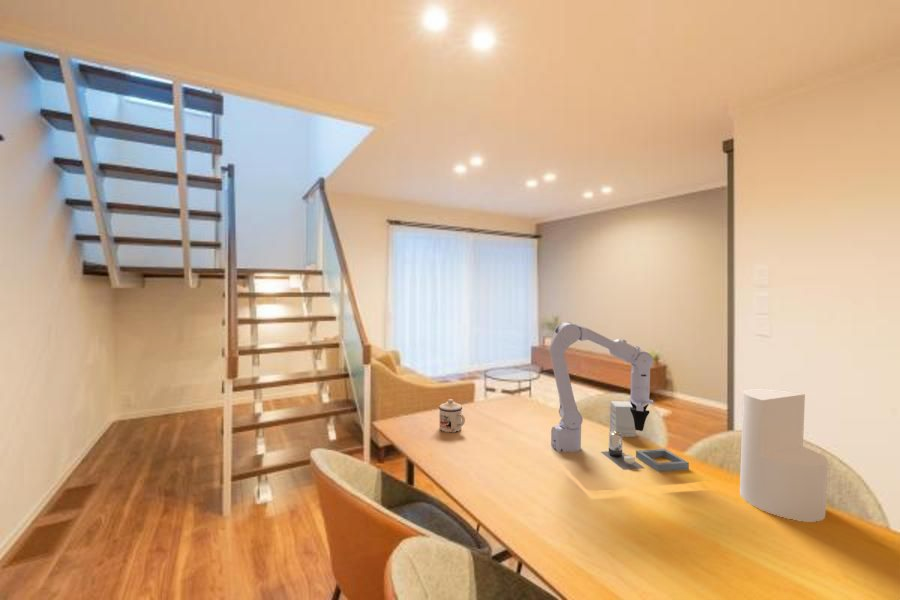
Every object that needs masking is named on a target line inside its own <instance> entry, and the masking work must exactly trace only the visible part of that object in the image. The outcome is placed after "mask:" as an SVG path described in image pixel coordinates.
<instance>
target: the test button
mask: <svg viewBox="0 0 900 600" xmlns="http://www.w3.org/2000/svg"><path fill="white" fill-rule="evenodd" d="M635 457H636V456H633V455H630V454H626V455H625V456H624V462H625V463H628V464H634V463H635V461H636V458H635Z"/></svg>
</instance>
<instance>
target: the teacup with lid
mask: <svg viewBox="0 0 900 600" xmlns="http://www.w3.org/2000/svg"><path fill="white" fill-rule="evenodd" d="M438 408H439V430H440V431H441V430H442V432H443V431H445V432H444V433H449V432H452V433H457V432H456V431H458V432H460V431H461V430H462V427H463V426H464V425H465V422H466V417H465V416H464V414H463V413H462V411H463V407H462V405H461V404H460V403H457V402H455V401H454V399H452V398H449V399H448V400H447V401H446V402H444V403H441V404H440V405H439V407H438ZM459 430H460V431H459Z"/></svg>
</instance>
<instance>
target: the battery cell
mask: <svg viewBox="0 0 900 600" xmlns="http://www.w3.org/2000/svg"><path fill="white" fill-rule="evenodd" d="M623 437H624V436H623V434H622V433H619V432H617V431H613V432H612V431H609V433H608V451H609V455H610V456H612V457H616V458H620V457H622V452H623Z"/></svg>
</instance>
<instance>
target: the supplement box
mask: <svg viewBox="0 0 900 600" xmlns="http://www.w3.org/2000/svg"><path fill="white" fill-rule="evenodd" d="M630 402H631V401H627V400H626V401H625V400H624V401H618V400H615V401H614V400H610V401H609V403H610V404H609V405H610V406H609V407H610V408H609V411H610V412H609V415H610V416H609V432H613V431H617V432H619V433H622V434H623V436H622V437H624V438H625V437H627V438H628V437H630V438H631V437H633V438H636V437H637V435H636V434H637V433H636V432H637V430H636V429H635V424H634V418H633V415H632V413H631V411H630V407H631V408H633V407H632V405H631V403H630Z"/></svg>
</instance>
